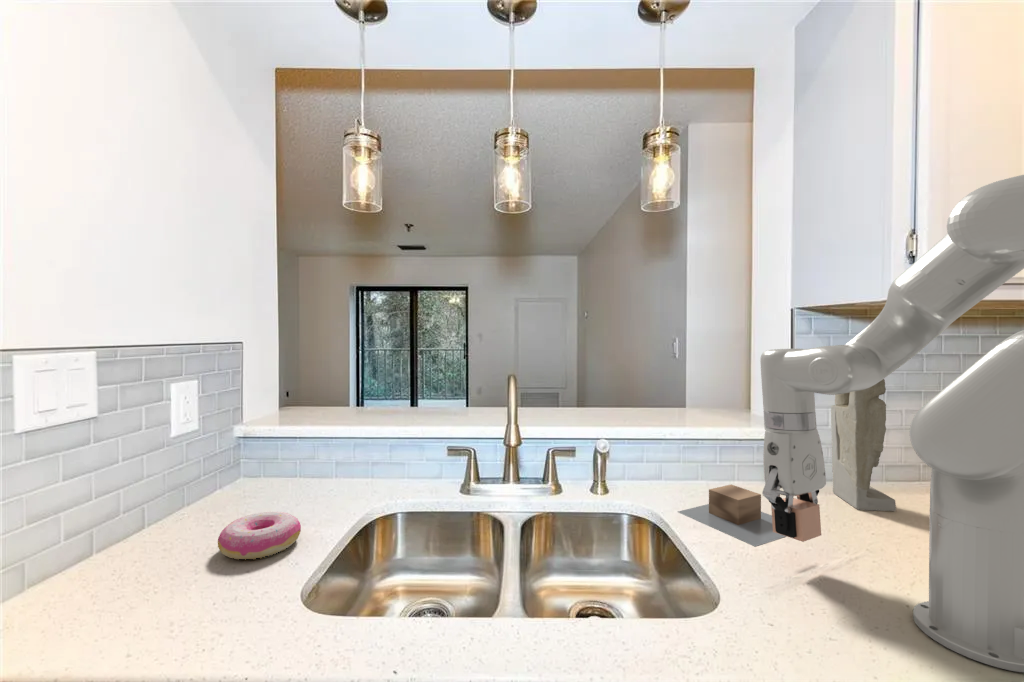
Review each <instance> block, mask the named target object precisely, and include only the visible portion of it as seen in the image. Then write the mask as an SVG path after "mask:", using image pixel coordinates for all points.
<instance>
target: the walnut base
mask: <svg viewBox="0 0 1024 682" xmlns="http://www.w3.org/2000/svg"><path fill="white" fill-rule="evenodd" d="M708 504H709V513H711V514H713V515H715V516H718V517H720V518H723V519H725V520H727V521H730V522H732V523H735V524H737V525H740V524H744V523H747V522H751V521H754V520H758V519H761V512H762V494H761V493H758V492H755V491H752V490H749V489H746V488H743V487H740V486H737V485H734V484H728V485H723V486H718V487H713V488H709V489H708Z"/></svg>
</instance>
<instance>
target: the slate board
mask: <svg viewBox="0 0 1024 682" xmlns="http://www.w3.org/2000/svg"><path fill="white" fill-rule="evenodd" d="M677 513H678V514H681V515H683V516H686V517H688V518H690V519H692V520H694V521H696V522H699V523H701V524H703V525H705V526H708V527H710V528H712V529H715V530H717V531H719V532H721V533H724V534H726V535H728V536H730V537H733V539H737V540H739V541H741V542H744V543H746V544H748V545H750V546H752V547H755V548H756V547H759V546H762V545H766V544H768V543H771V542H774V541H777V540H780V539H783V538H788V537H787V536H784V535H781V534H778V533H775V532H773V525H772V514H769V513H767V512H763V511H761V519H758V520H754V521H751V522H747V523H744V524H740V525H737V524H735V523H732V522H730V521H727V520H725V519H723V518H720V517H718V516H715V515H713V514H711V513H709V503H707V504H704V505H700V506H695V507H690V508H687V509H686V508H685V509H684V510H683V509H682V510H678V511H677Z"/></svg>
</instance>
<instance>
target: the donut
mask: <svg viewBox="0 0 1024 682" xmlns="http://www.w3.org/2000/svg"><path fill="white" fill-rule="evenodd" d="M301 532H302V526H301V522H300V521H299V519H298V518H297V517H296V516H294V515H293V514H290V513H288V512H282V511H267V512H258V513H252V514H250V515H249V514H248V515H245V516H241V517H240V518H237V519H235V520H233V521H231V522H230V523H229V524H227V525H226V526H225V527H224V528H223V529H222V530H221V532H220V534H219V536H218V539H217V548H218V549H219V551H220V553H221V554H222V555H224V556H225V557H227V558H231V559H233V558H234V560H239V559H245V560H244V561H247V560H246V559H253V560H257V559H256V558H260V559H263V558H262V557H264V558H266V557H265V556H268V557H270V556H269V555H271V556H274V555H277V554H279V553H281V552H283V551H286V550H287V549H288V548H290V546H292V545H293V544H294V543H295V542H296V541H297V540H298V539H299V536H300V535H301ZM286 548H287V549H286ZM280 551H281V552H280ZM278 552H279V553H278ZM276 553H277V554H276ZM273 554H274V555H273Z"/></svg>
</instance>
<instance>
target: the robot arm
mask: <svg viewBox="0 0 1024 682" xmlns="http://www.w3.org/2000/svg"><path fill="white" fill-rule="evenodd" d="M946 222H947V223H946V231H947V233H946V234H945V235H944V236H943V237H942V238H941V239H940V240H939V241H938V242H936V243H935V244H934V245H933V246H932V247H931V248H930V249H928V251H926V252H924V254H923V255H922V256H920V257H919V258H918V259H917V260H916V261H915V262H913V263H912V264H911V265H910V266H909V267H908V268H906V270H904V271H903V272H902V273H901V274H899V275H898V276H897V277H896V278H895V279H894V280H893V282H892V283H891V284H890V286H889V289H888V292H887V296H886V301H885V304H884V306H883V308H882V310H881V311H880V312H879V314H878V315H877V316H876V317H875V318H874V320H873V321H872V322H871V323H870V324H868V325H867V326H866V327H865V328H864V329H863V330H862V331H861V332H859V333H858V334H857V335H856V336H854V337H853V338H852V339H850V340H849V341H848V342H847V343H845V344H836V345H823V346H818V347H811V348H805V349H804V348H777V349H776V348H775V349H767V350H765V351H763V352H762V353H761V355H760V360H759V361H760V376H761V377H760V378H761V390H762V395H761V396H762V405H763V406H762V407H763V408H762V409H763V425H764V430H765V431H764V437H763V450H762V451H763V453H762V456H763V460H762V461H763V465H762V467H763V478H764V487H763V490H762V494H761V495H762V496H764V498H766V499H767V500H768V502H769V503H770V504H772V508H773V509H774V514H775V530H776V532H777V533H779V534H783V535H786V536H789V537H788V538H790V537H792V538H791V539H793V538H795V537H796V536H797V534H796V519H795V513H794V512H792V507H793V498H795V497H796V499H800V500H803V501H807V502H811V503H815V504H818V503H819V500H818V495H819V493H820V490H821V489H824V488H825V486H826V485H827V477H826V467H825V466H826V465H825V458H824V453H823V452H824V451H823V447H822V441H821V438H820V437H821V436H820V435H819V431H818V428H817V417H816V415H817V414H816V402H815V401H816V399H815V394H821V395H829V396H831V395H833V396H835V395H838V394H844V393H849V392H853V391H859V390H864V389H867V388H870V387H872V386H873V385H875V384H877V383H878V382H880V381H881V380H883V379H884V380H885V379H886V378H887V377H888V376H890V375H891V374H893V373H894V372H895V371H897V370H898V369H899V368H900V367H902V366H903V365H904V364H906V363H907V362H908V361H910V360H911V359H913V358H914V357H915V356H916V355H917V354H918V353H920V352H921V351H922V350H923V349H924V348H925V347H926V346H927V345H929V344H930V343H931V342H932V341H933V340H935V339H936V338H937V337H938V336H940V335H941V334H943V332H944V331H946V330H947V328H948V327H949V326H951V324H952V323H954V322H955V321H957V319H959V318H960V317H961V316H962V315H964V314H965V313H966V312H968V311H969V310H970V309H972V308H973V307H974V306H976V305H977V304H978V303H980V302H981V301H983V300H984V299H986V297H988V296H989V295H990V294H992V293H993V292H994V291H996V290H997V289H999V288H1000V287H1001V286H1003V285H1004V284H1005V283H1006V282H1007V281H1009V280H1011V279H1012V278H1013V277H1015V276H1016V275H1018V273H1021V272H1022V270H1024V174H1020V175H1015V176H1012V177H1008V178H1004V179H1000V180H997V181H994V182H993V181H992V182H991V183H988V184H985V185H983V186H981V187H978V188H976V189H975V190H973V191H971V192H969V193H968V194H966V195H965V196H964V197H962V198H961V199H960V201H958V202H957V203H956V204H955V206H954V207H953V209H952V210H951V211H950V213H949V215H948V217H947V221H946ZM909 440H910V444H911V446H912V449H913V450H914V453H915V454H916V455H917V457H919V459H920V460H921V461H922V462H923V463H925V465H927V466H928V467H930V469H931V473H930V486H929V487H930V489H929V536H928V537H929V540H928V541H929V547H928V550H929V551H928V553H929V554H928V557H929V558H928V561H929V562H928V601H927V600H926V601H922V602H920V603H919V602H918V603H917V604H916V605H915V606H914V608H913V610H912V618H913V621H914V623H915V625H917V627H918V628H919V629H920V630H921V631H922V632H923V633H924V634H926V635H927V636H928V637H929V638H931V639H933V640H934V641H935V642H937V643H939V644H940V645H942V646H943V647H945V648H947V649H949V650H951V651H953V652H954V653H957V654H959V655H961V656H964V657H966V658H968V659H971V660H974V661H976V662H979V663H982V664H984V665H987V666H992V667H995V668H998V669H1002V670H1007V671H1010V672H1014V673H1015V672H1016V673H1023V674H1024V329H1023V330H1020V331H1018V332H1015V333H1014V334H1011V335H1010V336H1008V337H1006V338H1005V339H1004V340H1003V341H1001V342H999V343H998V344H996V345H995V346H994V347H992V348H991V349H990V350H989V351H988V352H987V353H985V354H984V355H982V356H981V357H980V358H979V359H978V360H977V361H975V363H973V364H972V365H971V366H970V367H968V368H967V369H966V370H965V371H963V372H962V373H961V374H960V375H958V376H957V378H955V379H954V380H953V381H951V382H950V383H949V384H948V385H946V386H945V387H944V388H943V389H942V390H941V391H939V392H938V393H937V394H936V395H934V396H933V397H932V398H931V399H929V401H927V402H926V403H925V404H924V405H923V406H922V407H920V408H919V409H918V411H917V412H916V413H915V414H914V416H913V418H912V420H911V423H910V427H909ZM781 489H782V490H781ZM781 496H785V498H786V500H785V501H784V500H783V498H782V497H781Z"/></svg>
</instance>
